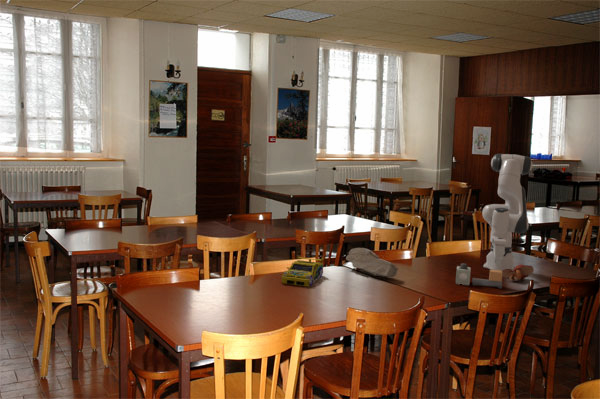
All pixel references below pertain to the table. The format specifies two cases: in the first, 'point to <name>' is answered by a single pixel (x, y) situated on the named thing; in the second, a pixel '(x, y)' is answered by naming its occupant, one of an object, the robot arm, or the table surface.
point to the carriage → (495, 277)
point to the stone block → (371, 263)
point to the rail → (483, 282)
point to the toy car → (303, 272)
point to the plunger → (463, 266)
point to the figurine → (518, 272)
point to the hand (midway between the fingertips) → (497, 264)
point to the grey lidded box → (463, 276)
